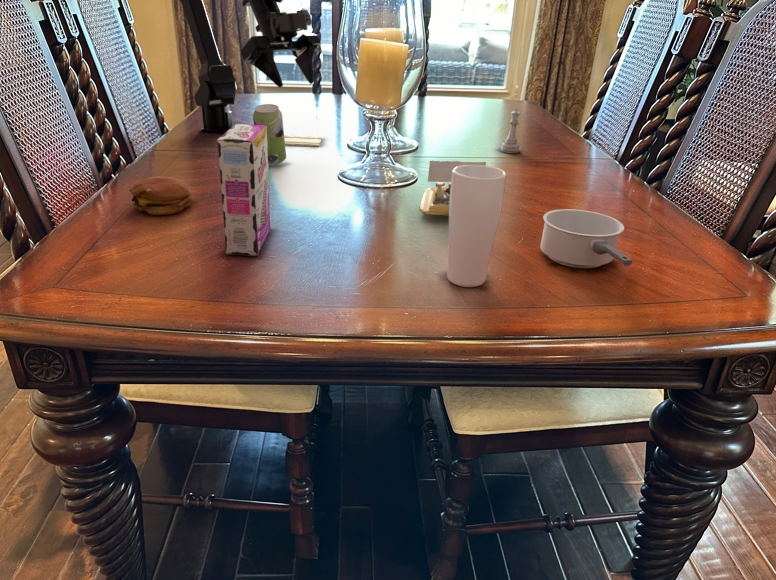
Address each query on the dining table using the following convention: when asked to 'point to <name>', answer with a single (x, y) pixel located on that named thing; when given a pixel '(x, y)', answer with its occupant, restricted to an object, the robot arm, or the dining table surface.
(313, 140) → the towel
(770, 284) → the dining table surface
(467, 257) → the drinking glass
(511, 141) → the chess piece
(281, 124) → the beverage can
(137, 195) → the burger
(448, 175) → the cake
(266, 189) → the white pink box
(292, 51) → the robot arm
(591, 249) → the saucepan
